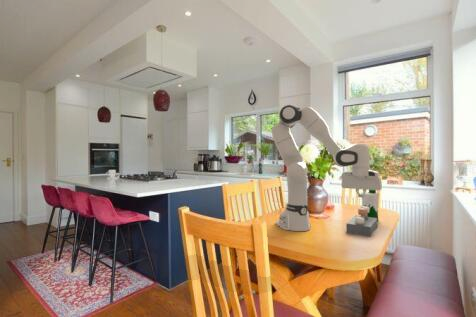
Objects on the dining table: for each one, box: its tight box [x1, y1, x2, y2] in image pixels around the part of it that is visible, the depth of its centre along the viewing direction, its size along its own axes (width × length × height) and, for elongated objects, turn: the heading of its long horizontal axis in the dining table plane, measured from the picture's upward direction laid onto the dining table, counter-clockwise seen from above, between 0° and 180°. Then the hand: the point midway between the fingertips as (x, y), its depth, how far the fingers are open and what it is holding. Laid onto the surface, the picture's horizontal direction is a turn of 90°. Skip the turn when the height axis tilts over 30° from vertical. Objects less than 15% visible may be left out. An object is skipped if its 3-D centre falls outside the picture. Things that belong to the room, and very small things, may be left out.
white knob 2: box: [360, 206, 369, 219], centre depth 152 cm, size 5×5×7 cm
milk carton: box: [360, 190, 380, 222], centre depth 167 cm, size 9×9×20 cm
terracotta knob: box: [357, 207, 367, 218], centre depth 146 cm, size 5×5×7 cm
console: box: [345, 214, 378, 237], centre depth 146 cm, size 24×12×5 cm, turn 144°
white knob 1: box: [354, 216, 364, 225], centre depth 139 cm, size 5×5×7 cm
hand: (361, 197), depth 141 cm, fingers closed
